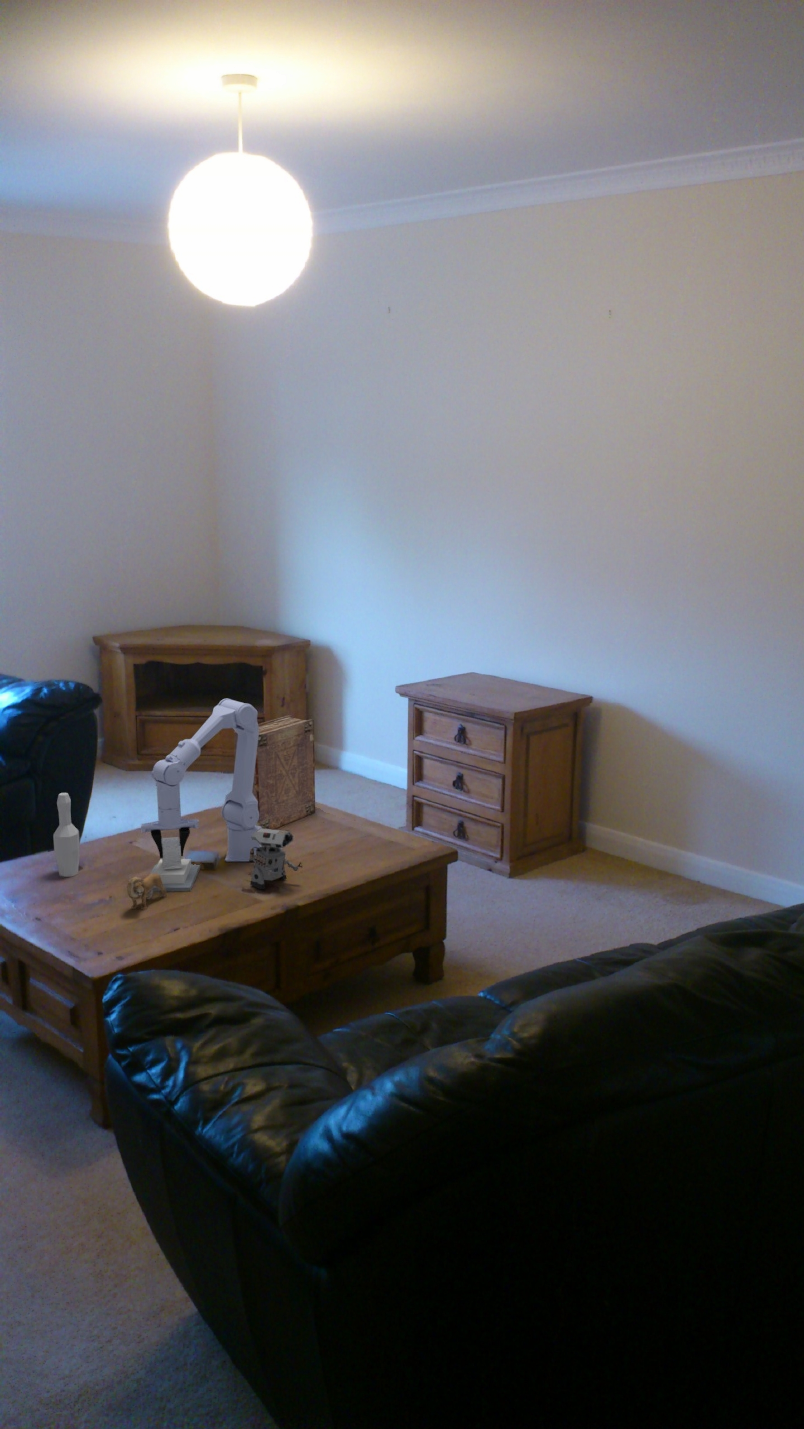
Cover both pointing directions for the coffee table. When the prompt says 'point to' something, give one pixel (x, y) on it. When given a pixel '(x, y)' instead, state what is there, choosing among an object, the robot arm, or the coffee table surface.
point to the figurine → (270, 856)
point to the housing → (171, 853)
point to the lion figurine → (144, 888)
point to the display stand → (177, 876)
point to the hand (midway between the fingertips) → (171, 856)
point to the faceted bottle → (66, 839)
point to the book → (284, 771)
